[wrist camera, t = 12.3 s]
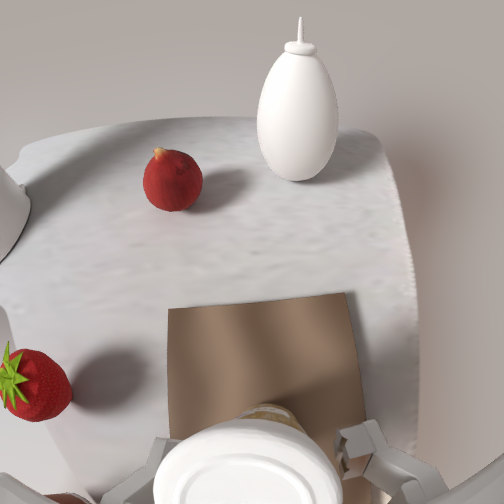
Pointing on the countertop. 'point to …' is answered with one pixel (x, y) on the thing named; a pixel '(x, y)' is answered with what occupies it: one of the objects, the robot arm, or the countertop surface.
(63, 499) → the coffee cup
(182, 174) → the onion
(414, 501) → the robot arm
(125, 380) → the countertop surface
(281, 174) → the sauce bottle
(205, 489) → the sprinkles bottle
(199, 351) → the walnut board
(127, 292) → the countertop surface
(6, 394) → the strawberry
